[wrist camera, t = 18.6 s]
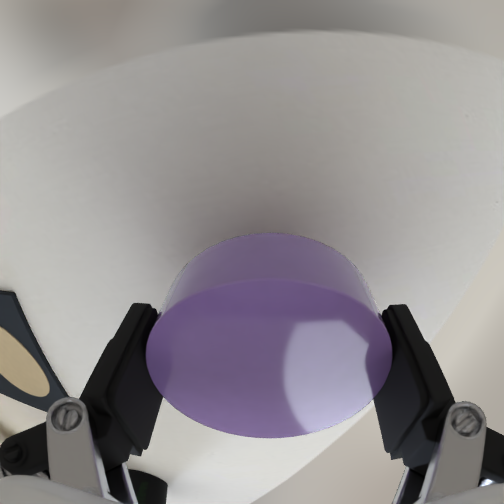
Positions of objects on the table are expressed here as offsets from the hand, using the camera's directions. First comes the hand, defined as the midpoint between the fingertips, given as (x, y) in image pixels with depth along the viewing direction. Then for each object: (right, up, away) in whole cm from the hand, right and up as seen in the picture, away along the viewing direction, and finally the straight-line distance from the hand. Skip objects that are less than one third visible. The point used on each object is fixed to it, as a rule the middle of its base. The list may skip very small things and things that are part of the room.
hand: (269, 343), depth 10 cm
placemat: (-26, -6, +9) cm, 28 cm away
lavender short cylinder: (0, +1, +1) cm, 1 cm away
